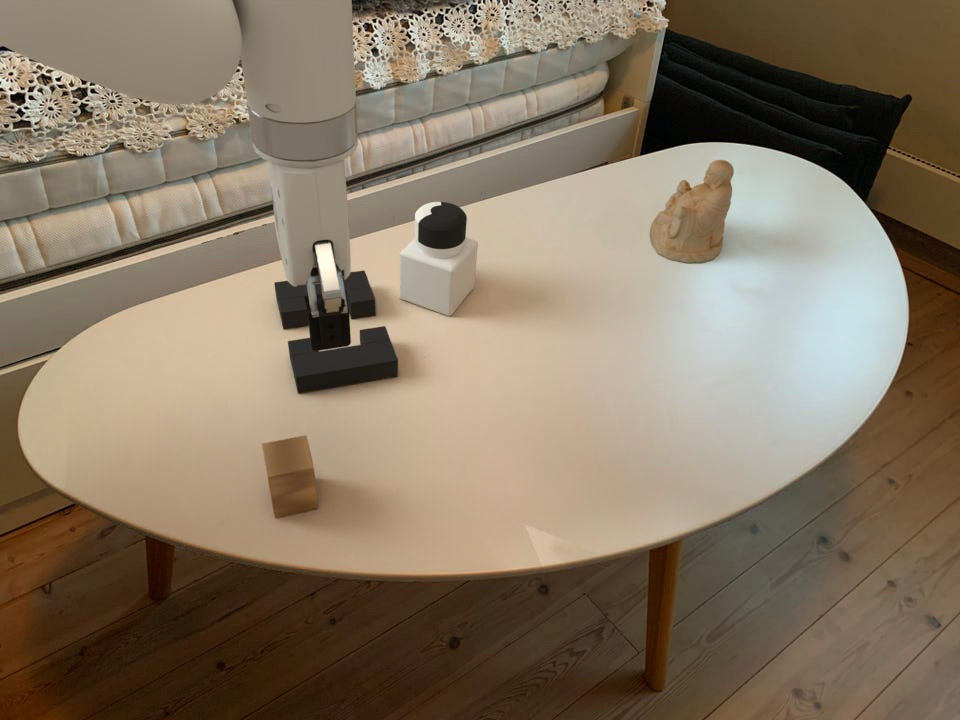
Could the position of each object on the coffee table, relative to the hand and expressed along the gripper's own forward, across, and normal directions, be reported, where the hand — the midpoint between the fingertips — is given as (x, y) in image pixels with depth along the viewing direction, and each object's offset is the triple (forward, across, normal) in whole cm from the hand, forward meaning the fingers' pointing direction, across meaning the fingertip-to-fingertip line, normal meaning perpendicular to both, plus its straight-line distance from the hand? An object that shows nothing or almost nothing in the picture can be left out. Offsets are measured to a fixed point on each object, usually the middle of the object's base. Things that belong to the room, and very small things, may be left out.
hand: (321, 310), depth 67 cm
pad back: (+17, -22, +3) cm, 28 cm away
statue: (+18, -26, +55) cm, 63 cm away
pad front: (+17, -10, +3) cm, 20 cm away
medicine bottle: (+17, -21, +17) cm, 32 cm away
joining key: (+17, +6, -5) cm, 19 cm away
